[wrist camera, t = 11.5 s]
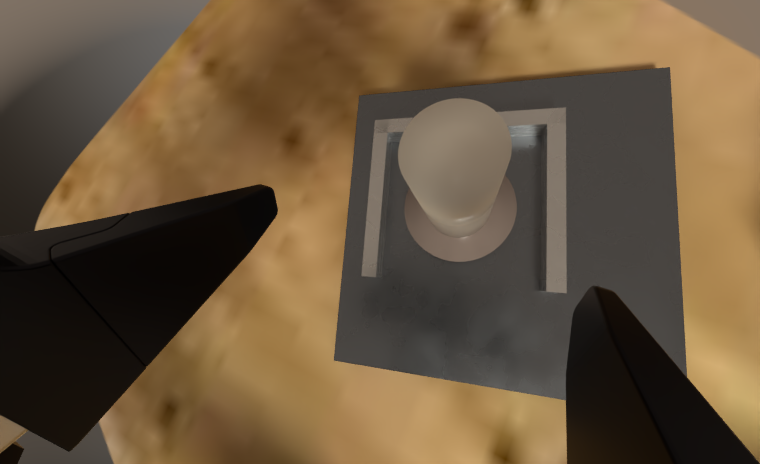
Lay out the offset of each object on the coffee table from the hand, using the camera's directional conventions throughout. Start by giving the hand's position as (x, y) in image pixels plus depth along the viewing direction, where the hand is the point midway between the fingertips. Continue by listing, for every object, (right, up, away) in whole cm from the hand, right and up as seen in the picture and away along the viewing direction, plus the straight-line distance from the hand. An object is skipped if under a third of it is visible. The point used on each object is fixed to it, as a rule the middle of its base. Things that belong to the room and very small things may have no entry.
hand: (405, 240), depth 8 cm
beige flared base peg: (+5, +2, +12) cm, 13 cm away
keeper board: (+7, +1, +12) cm, 14 cm away
